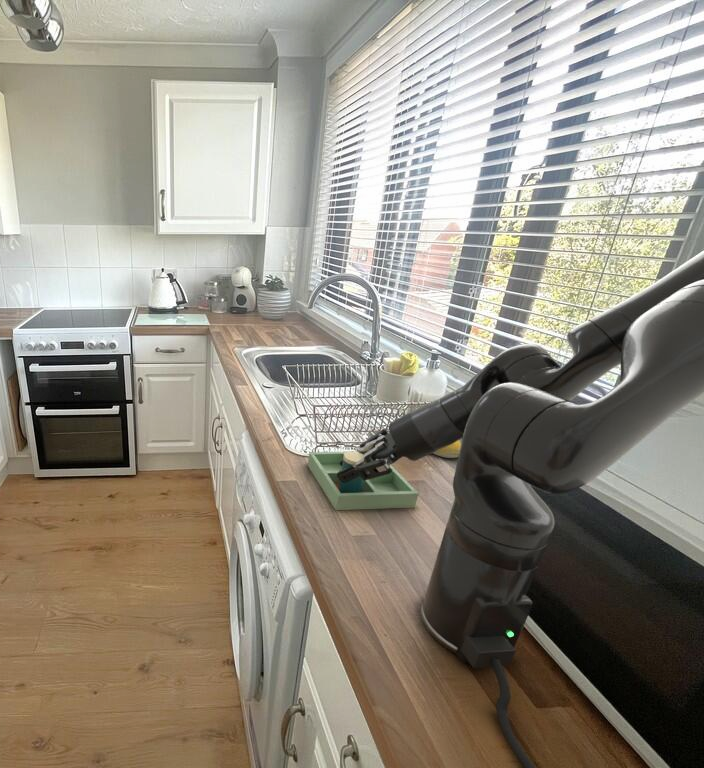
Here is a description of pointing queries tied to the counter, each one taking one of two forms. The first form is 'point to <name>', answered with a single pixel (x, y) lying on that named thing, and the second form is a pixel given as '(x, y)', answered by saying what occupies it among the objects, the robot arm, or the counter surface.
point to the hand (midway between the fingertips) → (341, 471)
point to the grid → (373, 492)
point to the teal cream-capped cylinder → (355, 483)
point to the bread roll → (450, 450)
